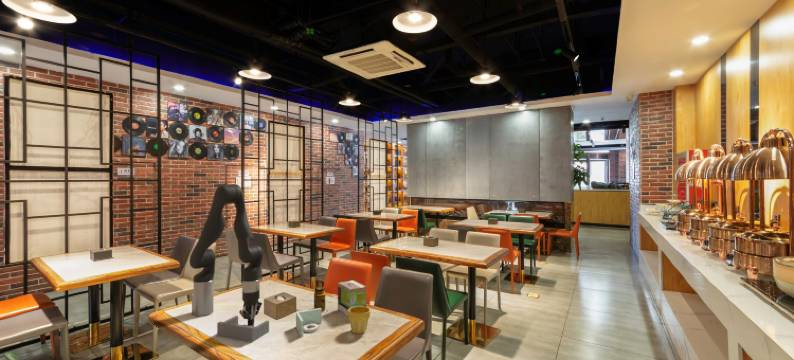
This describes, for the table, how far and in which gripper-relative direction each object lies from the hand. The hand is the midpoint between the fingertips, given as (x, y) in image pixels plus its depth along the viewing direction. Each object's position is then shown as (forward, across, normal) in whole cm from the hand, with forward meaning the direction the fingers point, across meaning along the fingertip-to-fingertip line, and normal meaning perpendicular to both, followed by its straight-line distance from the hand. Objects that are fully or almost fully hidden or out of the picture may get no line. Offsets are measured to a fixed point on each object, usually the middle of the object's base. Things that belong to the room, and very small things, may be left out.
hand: (250, 326), depth 161 cm
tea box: (+2, -35, +36) cm, 50 cm away
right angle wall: (+2, -9, +27) cm, 28 cm away
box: (+2, +4, 0) cm, 4 cm away
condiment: (+2, -31, +18) cm, 35 cm away
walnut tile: (+2, +4, 0) cm, 5 cm away
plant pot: (+2, -15, +48) cm, 51 cm away
